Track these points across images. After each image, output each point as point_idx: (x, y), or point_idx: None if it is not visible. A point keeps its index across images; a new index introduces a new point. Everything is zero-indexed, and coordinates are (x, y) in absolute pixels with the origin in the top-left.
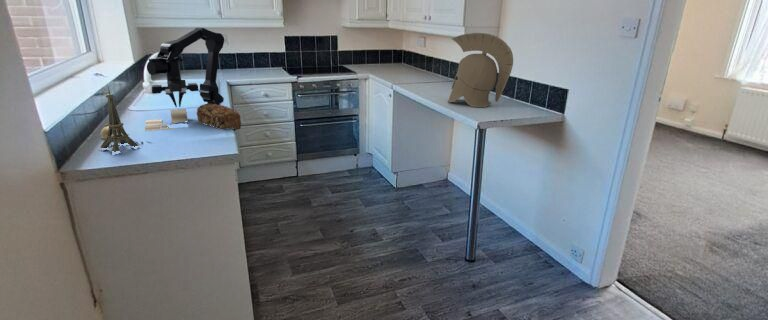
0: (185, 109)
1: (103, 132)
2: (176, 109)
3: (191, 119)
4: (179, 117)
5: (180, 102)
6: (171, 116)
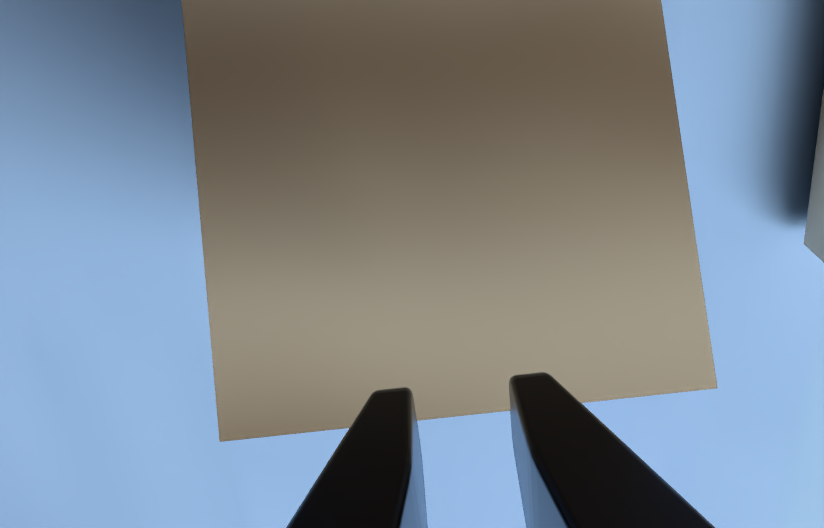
0: (234, 406)
1: None
2: None
3: None
4: (420, 44)
5: (314, 524)
6: (664, 88)
